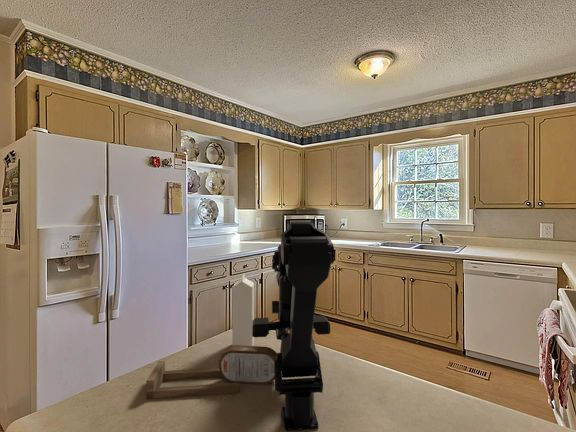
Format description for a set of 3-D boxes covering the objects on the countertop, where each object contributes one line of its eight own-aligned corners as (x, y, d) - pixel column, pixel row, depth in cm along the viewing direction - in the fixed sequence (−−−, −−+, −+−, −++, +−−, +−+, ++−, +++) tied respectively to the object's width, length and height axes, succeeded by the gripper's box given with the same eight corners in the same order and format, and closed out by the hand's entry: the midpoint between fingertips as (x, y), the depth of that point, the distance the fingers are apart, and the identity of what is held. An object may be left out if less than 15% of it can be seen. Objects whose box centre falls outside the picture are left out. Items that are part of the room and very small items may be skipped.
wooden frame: (238, 392, 71) (238, 375, 71) (146, 398, 69) (146, 380, 69) (239, 372, 80) (239, 356, 80) (158, 377, 78) (158, 361, 78)
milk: (232, 351, 92) (231, 276, 92) (235, 342, 98) (234, 272, 98) (253, 350, 92) (252, 276, 92) (254, 342, 99) (253, 272, 98)
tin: (281, 379, 77) (281, 345, 76) (279, 387, 73) (279, 351, 73) (221, 376, 78) (221, 343, 78) (217, 383, 75) (217, 348, 75)
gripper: (321, 288, 86) (321, 344, 86) (252, 290, 84) (252, 348, 84) (330, 299, 75) (330, 364, 75) (252, 302, 73) (252, 368, 73)
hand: (290, 360), depth 77 cm, fingers closed
